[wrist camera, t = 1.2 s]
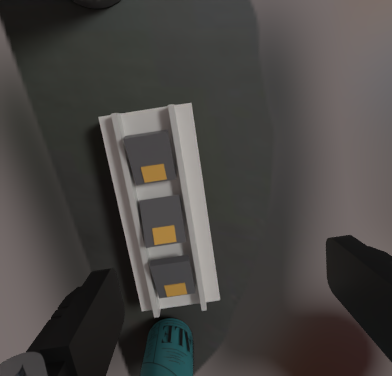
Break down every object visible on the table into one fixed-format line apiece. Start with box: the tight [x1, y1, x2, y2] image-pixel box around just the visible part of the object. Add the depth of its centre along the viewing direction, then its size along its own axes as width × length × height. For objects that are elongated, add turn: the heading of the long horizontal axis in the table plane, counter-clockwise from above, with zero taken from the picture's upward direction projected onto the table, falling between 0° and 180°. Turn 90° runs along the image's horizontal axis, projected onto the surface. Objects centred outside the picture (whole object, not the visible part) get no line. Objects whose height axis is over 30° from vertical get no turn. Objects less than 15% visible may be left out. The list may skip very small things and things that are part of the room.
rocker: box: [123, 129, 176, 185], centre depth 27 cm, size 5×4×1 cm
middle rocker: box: [139, 195, 186, 248], centre depth 29 cm, size 5×4×1 cm
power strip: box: [98, 103, 220, 318], centre depth 32 cm, size 24×10×5 cm, turn 8°
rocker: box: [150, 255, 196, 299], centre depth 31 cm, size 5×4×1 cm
